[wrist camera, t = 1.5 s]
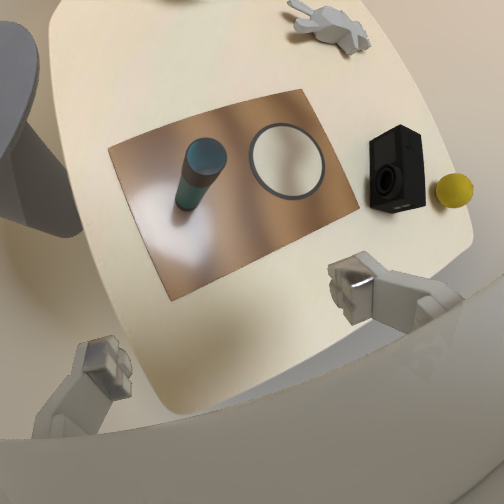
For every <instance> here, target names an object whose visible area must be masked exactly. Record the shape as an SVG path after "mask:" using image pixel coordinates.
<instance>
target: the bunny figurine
mask: <svg viewBox="0 0 504 504" xmlns="http://www.w3.org/2000/svg"><path fill="white" fill-rule="evenodd" d="M287 4H288V5H289V6H290V7H292V8H294V9H296V10H298V11H300V12H303V13H304V14H306V15H308V16H310V20H309V19H300V18H298V19H296V21H295V23H294V29H295V30H296V31H297V32H299V33H303V34H304V33H310V32H313V33H314V34H315V37H316V38H317V39H318V40H320V41H322V42H325V43H330V44H333V43H337V44H338V45H339V46H340V47H341V48H342V49H343V50H344V51H345V53H346V54H348V55H352V54H353V53H355V52H356V51H357V50H362V49H364V50H367V49H368V48H369V47H371V44H370V42H369V39H367V34H366V32H365V31H364V30H363V27H362V25H361V24H360V22H358V21H351V20H350V19H349V17H348V16H347V15H346V14H345V13H344V12H343V11H342V10H341V11H338V10H337V9H334V8H332V7H328V6H324V7H322V8H319V9H317V10H312V9H311V8H309V7H308V6H307V5H305V4H303V3H302V2H300V1H299V0H289V1H288V2H287Z"/></svg>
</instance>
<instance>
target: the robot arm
mask: <svg viewBox="0 0 504 504" xmlns="http://www.w3.org/2000/svg"><path fill="white" fill-rule="evenodd" d="M328 275H329V276H330V277H331V278H332V280H331V281H330V283H329V287H330V293H331V296H332V299H333V301H334V303H335V304H336V305H337V307H339V308H342V309H343V315H344V316H345V317H346V319H347V320H348V321H349V323H350V324H351V325H352V326H353V325H355V324H358V323H360V322H362V321H365V320H367V319H370V318H372V319H374V320H377V321H379V322H381V323H383V324H385V325H388V326H390V327H392V328H394V329H396V330H399V331H401V332H403V333H405V334H407V335H405V336H403V337H401V338H399V339H397V340H395V341H393V342H391V343H390V344H387V345H385V346H383V347H381V348H379V349H377V350H375V351H373V352H371V353H369V354H367V355H365V356H363V357H361V358H358V359H356V360H354V361H352V362H350V363H348V364H345V365H343V366H341V367H339V368H336V369H334V370H331V371H329V372H327V373H324V374H322V375H319V376H317V377H314V378H312V379H309V380H307V381H304V382H301V383H299V384H296V385H293V386H291V387H288V388H285V389H282V390H280V391H277V392H274V393H271V394H268V395H265V396H262V397H259V398H256V399H253V400H250V401H247V402H244V403H240V404H237V405H234V406H231V407H227V408H224V409H220V410H216V411H213V412H209V413H205V414H201V415H197V416H193V417H189V418H185V419H181V420H176V421H172V422H167V423H163V424H158V425H153V426H147V427H143V428H136V429H131V430H125V431H118V432H111V433H104V434H97V432H98V430H99V428H100V426H101V424H102V422H103V420H104V418H105V416H106V415H107V413H108V411H109V409H110V406H111V405H112V401H117V400H121V399H125V398H129V397H131V390H132V383H131V382H130V380H129V378H130V376H131V375H132V365H131V360H130V358H129V356H128V354H127V353H126V351H124V350H123V349H121V348H119V341H118V340H117V339H116V337H115V336H112V335H110V336H106V337H102V338H98V339H94V340H91V341H87V342H83V343H80V344H79V345H78V346H77V350H76V354H75V358H74V362H73V366H72V371H71V375H68V376H67V377H66V378H65V379H64V381H63V382H62V383H61V384H60V386H59V387H58V388H57V389H56V391H55V392H54V393H53V394H52V396H51V397H50V398H49V399H48V401H47V402H46V404H45V405H44V406H43V407H42V409H41V410H40V411H39V412H38V414H37V415H36V418H35V423H34V428H33V433H32V439H28V440H26V439H24V440H6V439H0V504H504V274H503V275H501V276H500V277H498V278H497V279H496V280H494V281H493V282H491V283H490V284H489V285H487V286H486V287H484V288H483V289H481V290H480V291H478V292H477V293H476V294H474V295H472V296H471V297H469V298H468V299H464V298H463V297H462V296H461V295H460V294H459V293H457V292H456V291H455V290H454V289H453V288H452V287H450V286H449V285H448V284H447V283H443V282H439V281H435V280H431V279H427V278H423V277H418V276H414V275H410V274H406V273H402V272H398V271H393V270H392V271H388V270H387V269H386V268H385V267H383V266H382V265H381V264H380V263H379V262H378V261H377V260H375V259H374V258H373V257H372V256H371V255H370V254H369V253H367V252H366V251H362V252H359V253H357V254H355V255H352V256H351V257H348V258H345V259H343V260H340V261H337V262H335V263H332V264H329V265H328Z"/></svg>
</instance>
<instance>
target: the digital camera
mask: <svg viewBox="0 0 504 504" xmlns="http://www.w3.org/2000/svg"><path fill="white" fill-rule="evenodd" d="M423 206H426V193H425V173H424V160H423V150H422V141H421V135H420V134H418V133H417V132H415V131H413V130H411V129H409V128H407V127H405V126H403V125H401V124H400V125H398V126H396V127H394V128H392V129H390V130H389V131H387V132H385V133H383V134H382V135H380V136H378V137H376V138H374V139H373V140H371V141H370V207H371V208H374V209H377V210H381V211H384V212H388V213H392V214H393V213H397V212H402V211H406V210H411V209H415V208H419V207H423Z"/></svg>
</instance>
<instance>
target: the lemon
mask: <svg viewBox="0 0 504 504" xmlns="http://www.w3.org/2000/svg"><path fill="white" fill-rule="evenodd" d="M472 195H473V184H472V183H471V181H470V180H469V179H468V178H467V177H466V176H464V175H462V174H449V175H446V176H444V177H443V178H441V179H440V181H439V182H438V184H437V187H436V196H437V198H438V200H439V201H440V203H441V204H442V205H444V206H446V207H448V208H459V207H462V206H464V205H466V204H467V203H468V202H469V201H470V200H471V198H472Z"/></svg>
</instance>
